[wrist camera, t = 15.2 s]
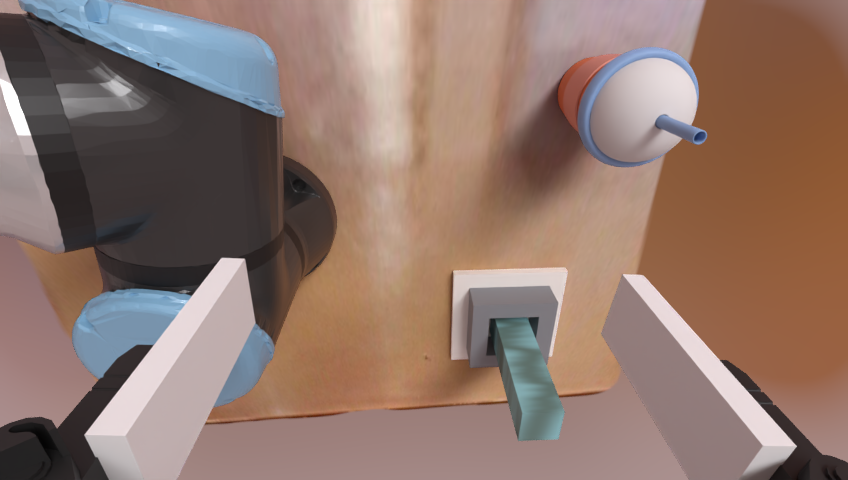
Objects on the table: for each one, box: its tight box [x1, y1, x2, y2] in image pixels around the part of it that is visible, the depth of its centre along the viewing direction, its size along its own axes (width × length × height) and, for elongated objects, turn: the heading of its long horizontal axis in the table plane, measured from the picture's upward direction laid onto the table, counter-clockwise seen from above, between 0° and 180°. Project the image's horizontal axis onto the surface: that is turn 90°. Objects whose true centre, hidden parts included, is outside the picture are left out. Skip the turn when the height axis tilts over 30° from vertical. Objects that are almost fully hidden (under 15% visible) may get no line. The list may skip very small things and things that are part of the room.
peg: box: [490, 317, 564, 441], centre depth 47 cm, size 4×4×16 cm
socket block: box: [451, 267, 568, 368], centre depth 52 cm, size 14×14×4 cm
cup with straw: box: [558, 47, 707, 167], centre depth 33 cm, size 9×9×18 cm
